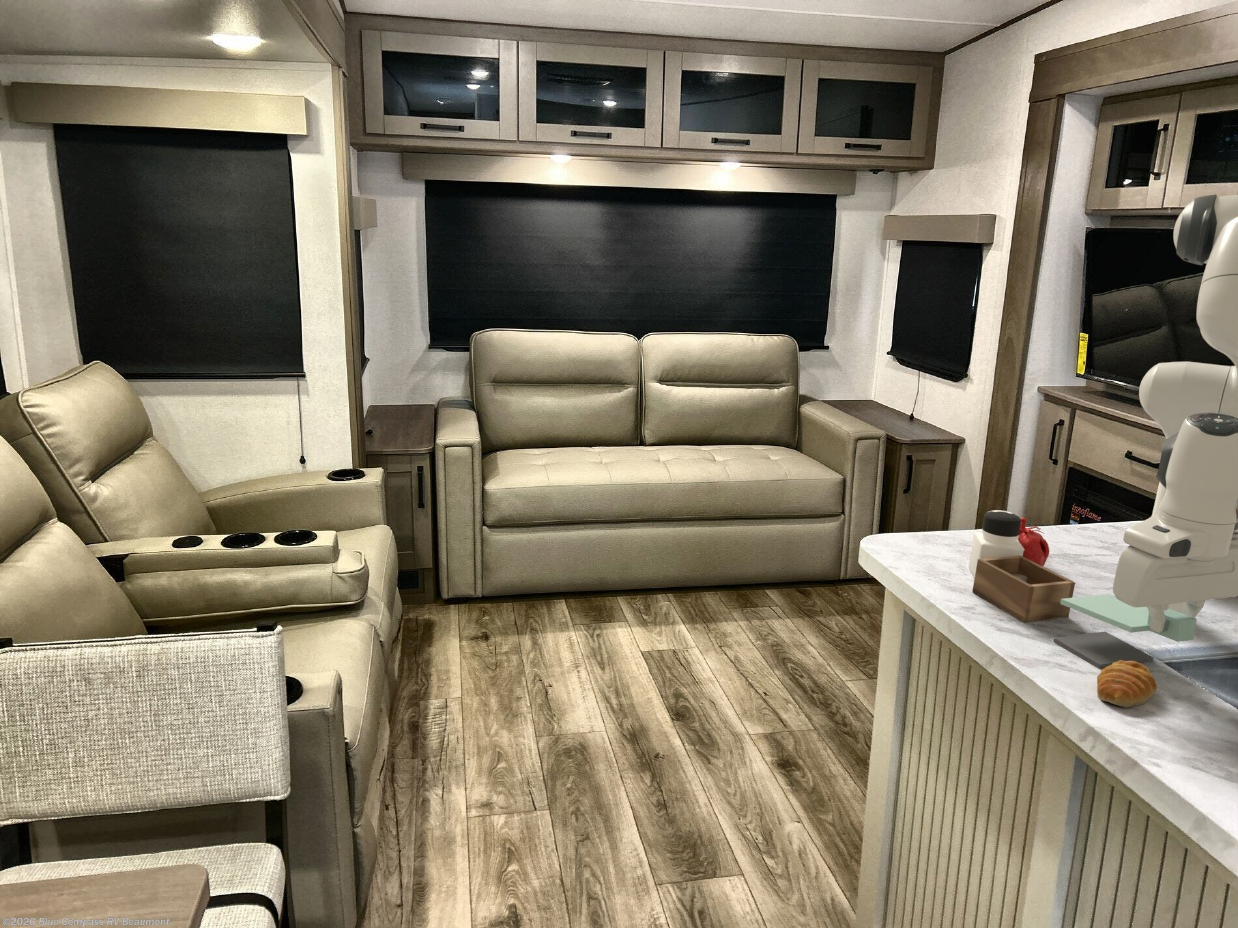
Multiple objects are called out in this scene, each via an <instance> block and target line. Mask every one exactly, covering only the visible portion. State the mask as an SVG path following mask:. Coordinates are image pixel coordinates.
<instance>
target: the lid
mask: <svg viewBox="0 0 1238 928" xmlns="http://www.w3.org/2000/svg"><path fill="white" fill-rule="evenodd" d="M1060 604H1062V605H1064V606H1067V607H1069V608H1070V609H1073V611H1077V612H1078V613H1081V614H1084V615H1087V616H1088V617H1091V618H1094V619H1096V620H1098V621H1102V622H1103V623H1106V624H1109V625H1111V626H1113V627H1117V628H1119V629H1122V630H1124V631H1126V632H1128V633H1130V634H1131V633H1133V634H1134V633H1138V632H1140V633H1141V632H1147V631H1150V632H1151V633H1154V634H1157V635H1159V636H1162V637H1165V638H1166V639H1168V640H1169V639H1170V640H1172V641H1175V642H1177V643H1179V642H1187V641H1194V639H1195V635H1196V627H1197V619H1198V618H1196V617H1195V618H1193V617H1191V616H1188V615H1185V614H1182V613H1179V612H1177V611H1174V610H1171V609H1168V610H1164V613H1165V619H1167V620H1169V621H1170V623H1169V626H1168V630H1167V631H1165V632H1155V631H1153V630H1152V629H1150V627H1149V624H1150V619H1151V616H1150V613H1149V610H1148V608H1146V607H1132V606H1130V605H1128V604H1126V603H1123V602H1122V601H1120V600H1118V599H1117V598H1116V597H1115V595H1114V594H1110V593H1107V594H1097V595H1087V596H1077V597H1072V598H1065V599H1061V603H1060Z"/></svg>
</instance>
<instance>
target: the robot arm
mask: <svg viewBox="0 0 1238 928" xmlns="http://www.w3.org/2000/svg"><path fill="white" fill-rule="evenodd" d="M1217 195H1218V194H1210V195H1209V194H1208V195H1202V196H1197V197H1195V198H1193V199H1192V200H1190V201H1189V202H1188V203H1186V204H1185V206H1184V209H1183V210H1182V211H1181V212H1180V214H1179V215H1178V217H1177V219H1176V221H1175V224H1174V228H1173V236H1172V237H1173V243H1174V246H1175V251H1176V255H1177V256H1178V257H1179V258H1180V259H1182V261H1184V262H1187V263H1191V264H1194V265H1198V266H1203V265H1204V264H1206V265H1205V269H1204V272H1203V274H1202V275H1203V276H1202V279H1201V284H1200V287H1199V290H1198V298H1197V302H1196V315H1195V316H1196V323H1197V326H1198V327H1199V330H1200V334H1201V336H1202V339H1203V340H1204V341H1205V342H1206V343H1207V344H1208V345H1209V346H1210V347H1212V348H1213V349H1214V350H1216V351H1218V352H1220V353H1222V354H1224V355H1225V356H1227V358H1228V359H1230V360H1231V362H1232V363H1233V364H1234V365H1220V364H1213V363H1204V362H1203V363H1202V362H1195V361H1194V362H1193V361H1171V362H1159V363H1157V364H1155V365H1153V366H1152V367H1151V368H1150V369H1149V370H1147V372H1146V373H1145V375H1144V376H1143V377H1142V380H1140V381H1141V382H1140V385H1139V390H1138V391H1139V392H1138V396H1139V402H1140V405H1141V407H1142V409H1143V410H1144V412H1145V413H1146V414H1147V415H1149V416H1150V417H1151V419H1153V420H1154V421H1155V422H1156V424H1158V426H1159V427H1160V429H1161V430H1162V433H1163V434H1164V436H1165V439H1164V440H1163V442H1162V445H1161V455H1160V459H1159V465H1158V469H1157V472H1156V475H1155V478H1156V479H1157V480H1158V481H1159V482H1160V483H1161V484H1162V485H1163V486H1164V487H1165V488H1166V493H1165V495H1164V497H1163V499H1162V501H1161V502H1160V505H1159V509H1158V513H1157V515H1153V516H1152V515H1151V516H1150V517H1149V518H1147V519H1145V520H1143V521H1141V522H1139V523H1137V524H1135V525H1131V526H1130V527H1128V528H1127V529H1126V530H1124V534H1123V538H1122V539H1123V542H1124V544H1126V545H1128V546H1126V547H1125V548H1124V549H1123V550H1122V552H1121V554H1120V556H1119V558H1118V561H1117V566H1116V570H1115V574H1114V578H1113V585H1112V592H1113V595H1114V596H1115V597H1116V598H1117V599H1118V600H1120V601H1122V602H1123V603H1126V604H1128V605H1130V606H1132V607H1146V606H1147V607H1148V610H1149V613H1150V616H1151V619H1150V624H1149V627H1150V629H1152V630H1153V631H1155V632H1165V631H1167V630H1168V626H1169V623H1170V621H1169V620H1167V619H1165V613H1164V610H1168V606H1169V604H1173V603H1183V602H1185V604H1184V605H1183V607H1182V609H1181V611H1180V612H1179V613H1182V614H1185V615H1188V616H1191V617H1193V618H1196V617H1197V616H1198V614H1199V613H1200V612H1201V611H1202V609H1203V608H1204V606H1205V604H1206V603H1205V602H1206V601H1207V600H1209V601H1210V600H1217V599H1219V600H1220V599H1226V598H1236V597H1238V508H1237V506H1238V194H1230V195H1222V196H1217Z"/></svg>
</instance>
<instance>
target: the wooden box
mask: <svg viewBox="0 0 1238 928" xmlns="http://www.w3.org/2000/svg"><path fill="white" fill-rule="evenodd" d="M973 579H974V578H973ZM1075 586H1076V582H1075V581H1073V580H1071V579H1069V578H1067V577H1065V576H1063V575H1061V574H1059V573H1057V572H1055V571H1053V570H1051V569H1048V568H1047V567H1045V566H1041V565H1039V564H1037V563H1035V562H1033V561H1031V560H1029V559H1027V558H1025V557H1023V556H1010V557H998V558H987V559H978V561H977V567H976V573H975V579H974V581H973V586H972V592H971V593H973V594H974V595H976V596H978V597H980V598H982V599H983V600H985V601H986V602H988V603H991V605H994V606H995V607H997V608H998V609H1000V610H1002V611H1004V612H1005V613H1007V614H1009V615H1010V616H1012V617H1014V618H1015V619H1018V620H1019V621H1020V622H1022V623H1030V622H1036V621H1045V620H1046V621H1047V620H1055V619H1056V620H1057V619H1063V618H1069V615H1070V611H1071V608H1069V607H1067V606H1064V605H1062V604H1060V603H1061V599H1065V598H1074V597H1073V596H1074V592H1075Z"/></svg>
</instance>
